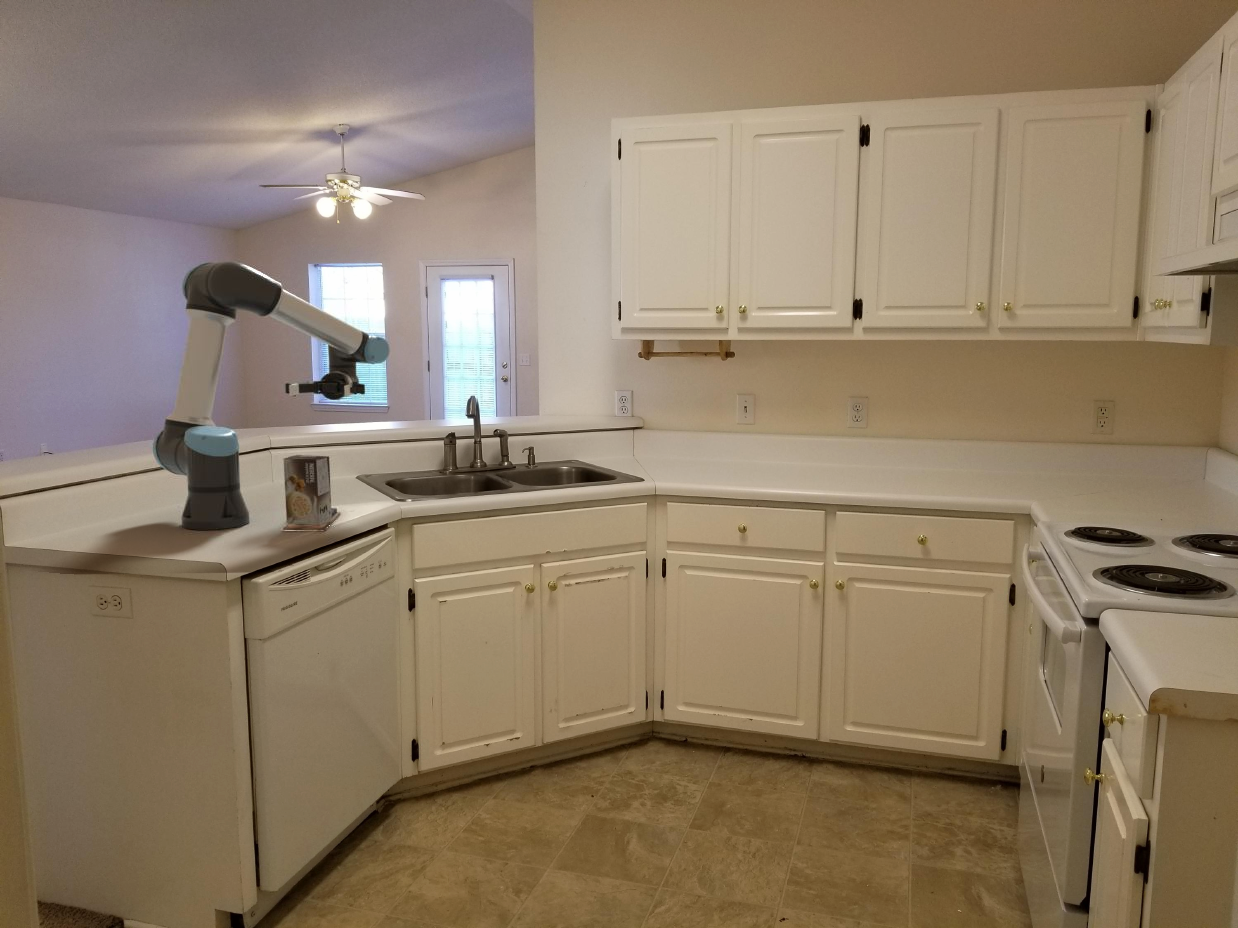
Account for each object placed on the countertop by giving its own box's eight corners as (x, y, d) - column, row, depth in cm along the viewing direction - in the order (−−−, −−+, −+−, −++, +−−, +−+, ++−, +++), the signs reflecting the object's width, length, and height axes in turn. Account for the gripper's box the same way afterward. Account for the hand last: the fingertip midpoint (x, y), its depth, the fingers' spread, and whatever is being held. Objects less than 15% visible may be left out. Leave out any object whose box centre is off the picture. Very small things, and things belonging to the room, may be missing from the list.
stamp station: (283, 531, 213) (282, 523, 213) (302, 515, 231) (302, 507, 231) (324, 531, 214) (324, 522, 214) (340, 515, 232) (340, 507, 232)
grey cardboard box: (333, 520, 221) (331, 455, 218) (319, 525, 215) (317, 459, 212) (299, 518, 223) (297, 454, 220) (284, 523, 216) (282, 457, 214)
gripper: (382, 399, 251) (369, 405, 230) (290, 398, 248) (268, 405, 227) (381, 372, 250) (368, 376, 229) (288, 371, 247) (267, 375, 226)
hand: (318, 390), depth 228 cm, fingers open, 13 cm apart
